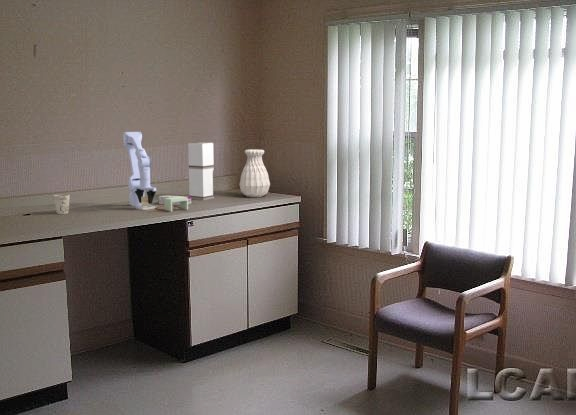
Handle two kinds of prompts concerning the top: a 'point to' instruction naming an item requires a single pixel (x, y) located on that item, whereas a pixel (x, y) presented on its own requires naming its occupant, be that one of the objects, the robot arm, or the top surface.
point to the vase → (254, 175)
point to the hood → (175, 199)
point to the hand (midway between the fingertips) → (145, 203)
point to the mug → (62, 203)
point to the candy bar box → (161, 201)
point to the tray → (145, 207)
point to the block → (144, 201)
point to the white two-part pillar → (201, 170)
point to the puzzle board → (162, 209)
